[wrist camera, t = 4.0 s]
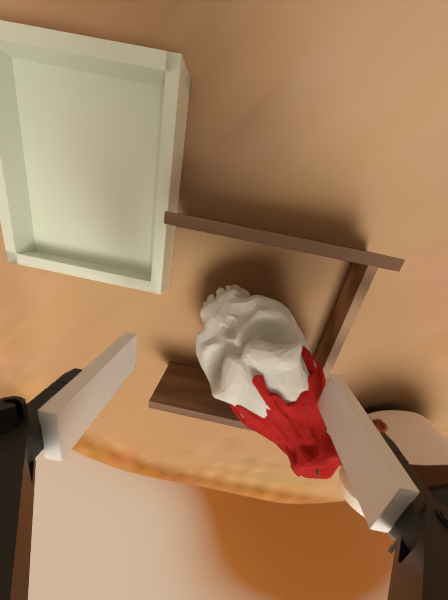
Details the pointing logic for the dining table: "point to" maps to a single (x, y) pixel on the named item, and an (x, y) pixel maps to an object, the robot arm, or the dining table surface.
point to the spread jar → (409, 452)
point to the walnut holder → (196, 388)
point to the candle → (267, 375)
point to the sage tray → (90, 154)
